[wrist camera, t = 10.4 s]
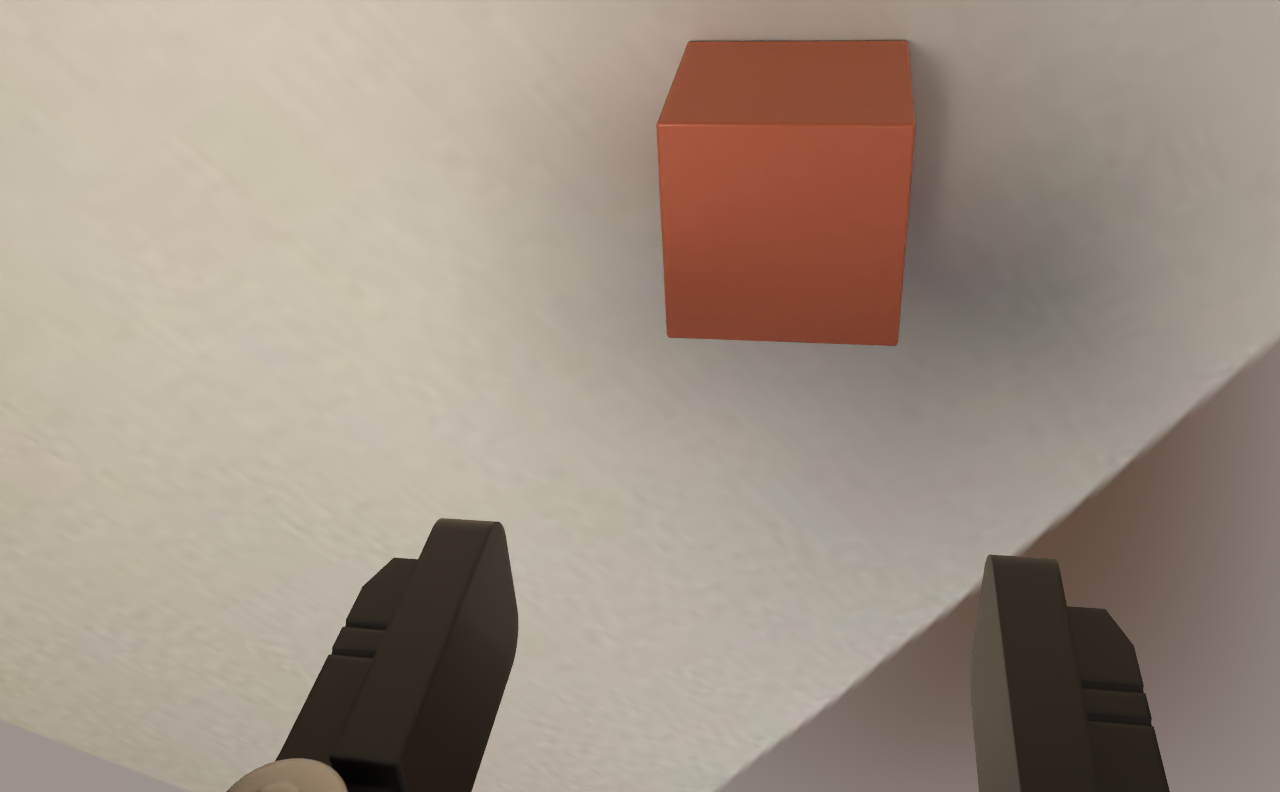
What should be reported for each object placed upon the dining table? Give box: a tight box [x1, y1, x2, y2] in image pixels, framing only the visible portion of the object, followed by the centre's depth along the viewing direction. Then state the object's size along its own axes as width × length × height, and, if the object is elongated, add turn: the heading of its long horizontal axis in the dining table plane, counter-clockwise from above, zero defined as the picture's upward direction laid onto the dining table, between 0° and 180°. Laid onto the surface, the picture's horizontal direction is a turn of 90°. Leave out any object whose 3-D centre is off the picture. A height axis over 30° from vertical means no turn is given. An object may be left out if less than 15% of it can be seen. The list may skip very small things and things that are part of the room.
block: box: [656, 41, 916, 346], centre depth 23 cm, size 4×4×4 cm
